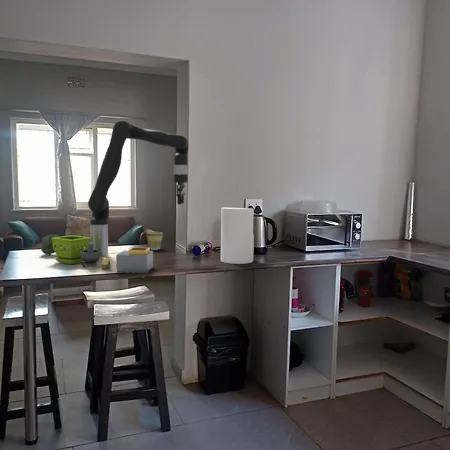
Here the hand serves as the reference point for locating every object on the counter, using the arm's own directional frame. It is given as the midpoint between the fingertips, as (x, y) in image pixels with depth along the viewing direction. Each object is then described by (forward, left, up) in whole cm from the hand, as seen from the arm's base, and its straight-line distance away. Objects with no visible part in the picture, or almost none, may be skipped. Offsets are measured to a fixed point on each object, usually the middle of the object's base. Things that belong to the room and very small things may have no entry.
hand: (180, 203), depth 241 cm
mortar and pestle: (-40, -28, -30) cm, 57 cm away
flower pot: (-52, -21, -30) cm, 63 cm away
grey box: (-16, -36, -29) cm, 49 cm away
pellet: (-30, -35, -29) cm, 55 cm away
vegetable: (-70, -1, -30) cm, 76 cm away
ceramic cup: (-19, +27, -30) cm, 44 cm away
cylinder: (+31, -6, -30) cm, 43 cm away
